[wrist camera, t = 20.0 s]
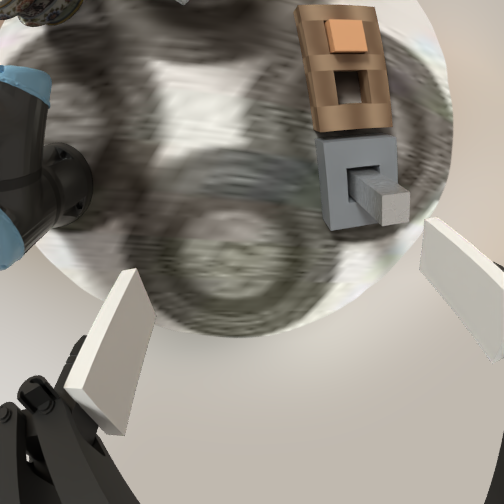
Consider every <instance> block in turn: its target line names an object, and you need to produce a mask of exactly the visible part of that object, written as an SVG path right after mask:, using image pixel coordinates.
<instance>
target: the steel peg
mask: <svg viewBox="0 0 504 504" xmlns="http://www.w3.org/2000/svg"><path fill="white" fill-rule="evenodd" d="M346 169H347V184H348V194H349V195H350V196H351V197H352V198H354V199H355V200H356V201H357V202H358V203H359V204H360V205H361V206H362V207H363V208H364V209H365V210H366V211H367V212H368V213H369V214H370V215H371V216H372V217H373V218H374V219H375V220H376V221H377V222H378V223H379V224H380V225H381V226H386V225H392V224H398V223H404V222H409V210H410V192H409V191H408V190H406V189H405V188H403V187H401V186H400V185H398V184H397V183H395V182H394V181H392V180H390V179H389V178H387V177H385V176H384V175H382V174H381V173H379V172H377V171H376V170H374V169H372V168H370V167H369V166H363V167H354V168H346Z"/></svg>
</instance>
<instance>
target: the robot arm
mask: <svg viewBox="0 0 504 504" xmlns="http://www.w3.org/2000/svg"><path fill="white" fill-rule="evenodd" d="M51 86H52V81H51V78H50V76H49V75H48V74H47V73H46V72H43V71H41V70H37V69H33V68H27V67H20V66H10V65H7V66H3V65H0V271H1V270H5V269H7V268H8V267H10V266H11V265H12V264H13V263H14V262H16V261H18V260H19V259H21V258H22V256H23V255H24V254H25V253H26V252H27V251H28V250H29V249H30V248H31V247H32V246H33V245H34V244H35V243H36V242H37V241H38V240H39V239H40V238H42V237H43V236H44V235H45V234H46V233H47V232H48V231H49V230H50V229H51V228H56V227H60V226H65V225H68V224H70V223H72V222H74V221H75V220H76V219H77V218H79V217H80V216H81V215H82V214H83V213H84V212H85V210H86V209H87V207H88V205H89V203H90V201H91V197H92V191H93V181H92V175H91V171H90V169H89V166H88V164H87V162H86V160H85V159H84V157H83V156H82V155H81V154H80V153H79V152H78V151H77V150H76V149H75V148H73V147H72V146H70V145H67V144H64V143H52V144H49V145H46V146H44V137H45V128H46V120H47V113H48V109H49V108H50V102H49V100H50V93H51ZM419 270H420V271H421V272H422V274H423V275H424V276H425V277H426V278H427V279H428V281H429V282H430V283H431V284H432V285H433V286H434V288H435V289H436V290H437V291H438V293H439V294H440V295H441V296H442V297H443V299H444V300H445V301H446V302H447V304H448V305H449V306H450V307H451V309H452V310H453V311H454V312H455V314H456V315H457V316H458V318H459V319H460V320H461V321H462V323H463V324H464V325H465V327H466V328H467V329H468V331H469V332H470V333H471V335H472V336H473V337H474V339H475V340H476V341H477V343H478V344H479V346H480V347H481V349H482V350H483V351H484V353H485V354H486V356H487V357H488V359H489V360H490V362H491V363H492V364H493V363H495V362H497V361H499V360H501V359H502V358H504V267H503V266H501V265H499V264H497V263H495V262H492V261H491V260H490V259H489V258H487V257H486V256H485V255H484V254H483V253H482V252H481V251H479V250H478V249H477V248H476V247H475V246H473V245H472V244H471V243H470V242H469V241H467V240H466V239H465V238H464V237H462V236H461V235H460V234H459V233H457V232H456V231H455V230H454V229H452V228H451V227H450V226H448V225H447V224H446V223H444V222H443V221H442V220H441V219H439V218H438V217H434V218H428V219H424V232H423V242H422V251H421V260H420V267H419ZM156 317H157V316H156V313H155V311H154V309H153V307H152V304H151V302H150V300H149V297H148V295H147V292H146V290H145V288H144V285H143V283H142V280H141V278H140V275H139V273H138V270H137V268H135V269H129V270H123V271H121V273H120V275H119V277H118V278H117V280H116V282H115V284H114V286H113V287H112V289H111V291H110V293H109V295H108V296H107V298H106V300H105V302H104V304H103V306H102V308H101V310H100V312H99V314H98V315H97V317H96V319H95V321H94V323H93V325H92V327H91V329H90V331H89V333H88V335H83V336H82V337H81V338H80V339H79V340H78V342H77V343H76V344H75V345H74V347H73V349H72V351H71V353H70V357H68V359H67V361H66V365H65V366H64V368H63V370H62V372H61V374H60V376H59V379H58V381H57V383H56V385H55V387H54V389H53V387H52V386H51V385H50V384H49V383H48V382H47V380H46V379H45V378H44V377H42V376H40V375H38V376H33V377H30V378H28V379H27V380H26V381H25V382H24V383H23V384H22V385H21V387H20V388H19V391H18V394H17V399H18V400H19V402H20V403H21V404H22V405H23V406H24V407H25V408H26V409H25V410H20V409H19V408H18V407H17V406H16V405H15V404H14V403H12V402H6V403H4V404H3V405H1V406H0V504H140V503H139V501H138V500H137V499H136V497H135V496H134V494H133V493H132V491H131V490H130V488H129V486H128V485H127V483H126V482H125V480H124V479H123V477H122V475H121V474H120V472H119V470H118V469H117V467H116V465H115V464H114V462H113V460H112V459H111V457H110V455H109V453H108V451H107V450H106V448H105V446H104V444H103V442H102V441H101V439H100V437H99V436H98V435H97V434H96V432H97V429H98V426H99V427H100V428H101V429H102V430H103V431H104V432H105V433H106V434H108V435H120V436H125V433H126V428H127V424H128V419H129V415H130V411H131V407H132V403H133V399H134V395H135V391H136V387H137V383H138V379H139V375H140V372H141V368H142V365H143V361H144V357H145V354H146V350H147V347H148V343H149V340H150V337H151V333H152V330H153V327H154V323H155V320H156ZM26 454H27V455H29V462H28V461H27V460H26ZM484 504H504V433H503V438H502V443H501V448H500V452H499V456H498V460H497V464H496V468H495V472H494V475H493V478H492V482H491V485H490V488H489V491H488V494H487V497H486V500H485V503H484Z"/></svg>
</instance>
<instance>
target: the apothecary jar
mask: <svg viewBox="0 0 504 504" xmlns="http://www.w3.org/2000/svg"><path fill="white" fill-rule="evenodd" d="M82 2H83V0H0V20H7V19H10V18H13V17H15V16H18V18H19V20H20V21H21V23H23V24H24V25H26V26H30V27H38V26H42V25H45V24H47V25H58V24H60V23H63V22H65V21H66V20H68V19H69V18H70V17H71V16H73V15H74V14H75V13H76V11H77V10H78V9H79V8H80V6H81V4H82Z"/></svg>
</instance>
